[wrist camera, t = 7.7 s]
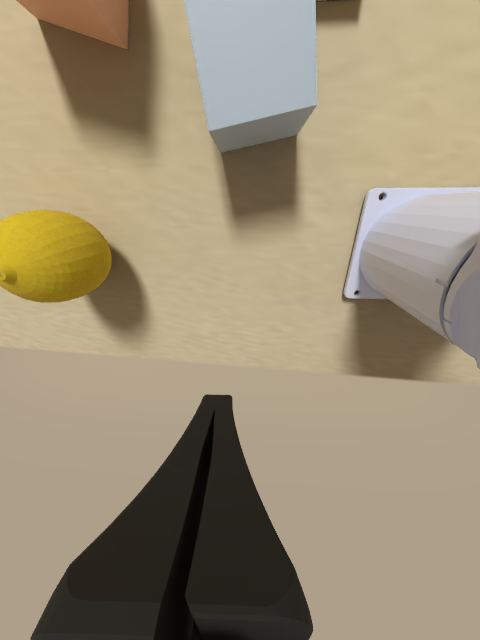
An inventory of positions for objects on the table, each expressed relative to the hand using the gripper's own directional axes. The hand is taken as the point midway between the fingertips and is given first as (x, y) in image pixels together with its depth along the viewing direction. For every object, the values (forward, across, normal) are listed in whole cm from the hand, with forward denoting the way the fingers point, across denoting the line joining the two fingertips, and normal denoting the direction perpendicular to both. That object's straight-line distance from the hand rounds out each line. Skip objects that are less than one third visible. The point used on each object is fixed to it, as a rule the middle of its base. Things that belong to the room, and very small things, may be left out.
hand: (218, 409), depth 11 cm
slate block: (+10, -2, -15) cm, 19 cm away
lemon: (+11, +11, -6) cm, 17 cm away
